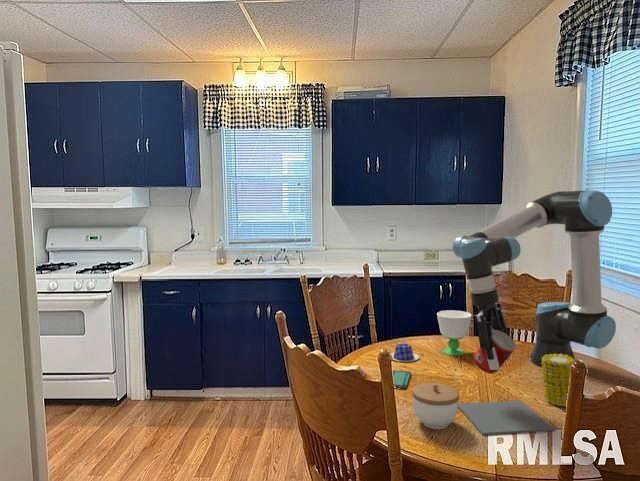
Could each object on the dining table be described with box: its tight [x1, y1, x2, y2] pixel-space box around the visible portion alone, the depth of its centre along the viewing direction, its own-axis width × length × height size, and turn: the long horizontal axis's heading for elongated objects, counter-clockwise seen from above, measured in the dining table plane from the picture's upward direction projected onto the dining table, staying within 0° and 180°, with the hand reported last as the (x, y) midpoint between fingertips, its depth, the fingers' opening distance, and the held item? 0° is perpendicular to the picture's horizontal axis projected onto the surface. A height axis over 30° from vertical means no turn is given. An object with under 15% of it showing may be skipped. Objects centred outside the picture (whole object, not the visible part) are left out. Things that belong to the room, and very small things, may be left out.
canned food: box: [473, 329, 517, 375], centre depth 140 cm, size 8×8×11 cm
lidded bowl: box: [411, 382, 460, 430], centre depth 129 cm, size 13×13×11 cm
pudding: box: [391, 343, 420, 363], centre depth 185 cm, size 12×12×5 cm
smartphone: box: [392, 369, 412, 390], centre depth 161 cm, size 7×1×15 cm
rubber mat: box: [458, 400, 556, 436], centre depth 132 cm, size 20×18×1 cm
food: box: [541, 354, 577, 408], centre depth 142 cm, size 15×12×10 cm
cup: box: [436, 309, 472, 357], centre depth 190 cm, size 14×14×16 cm
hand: (500, 364), depth 140 cm, fingers closed on canned food, 8 cm apart
